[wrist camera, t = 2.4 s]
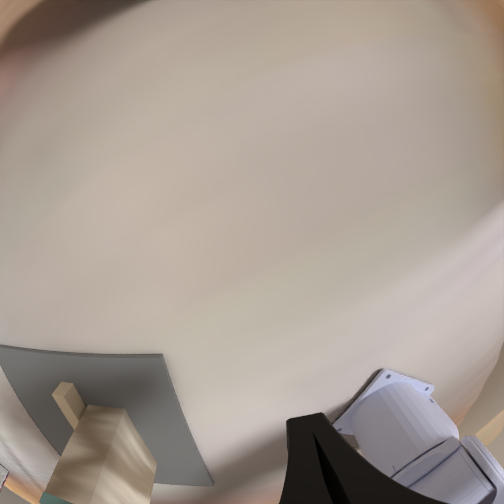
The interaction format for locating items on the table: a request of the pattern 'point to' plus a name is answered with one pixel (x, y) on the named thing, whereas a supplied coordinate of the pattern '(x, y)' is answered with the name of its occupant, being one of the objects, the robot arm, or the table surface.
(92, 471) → the ash slab
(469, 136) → the table surface
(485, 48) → the table surface
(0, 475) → the candy bar box
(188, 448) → the rubber mat
